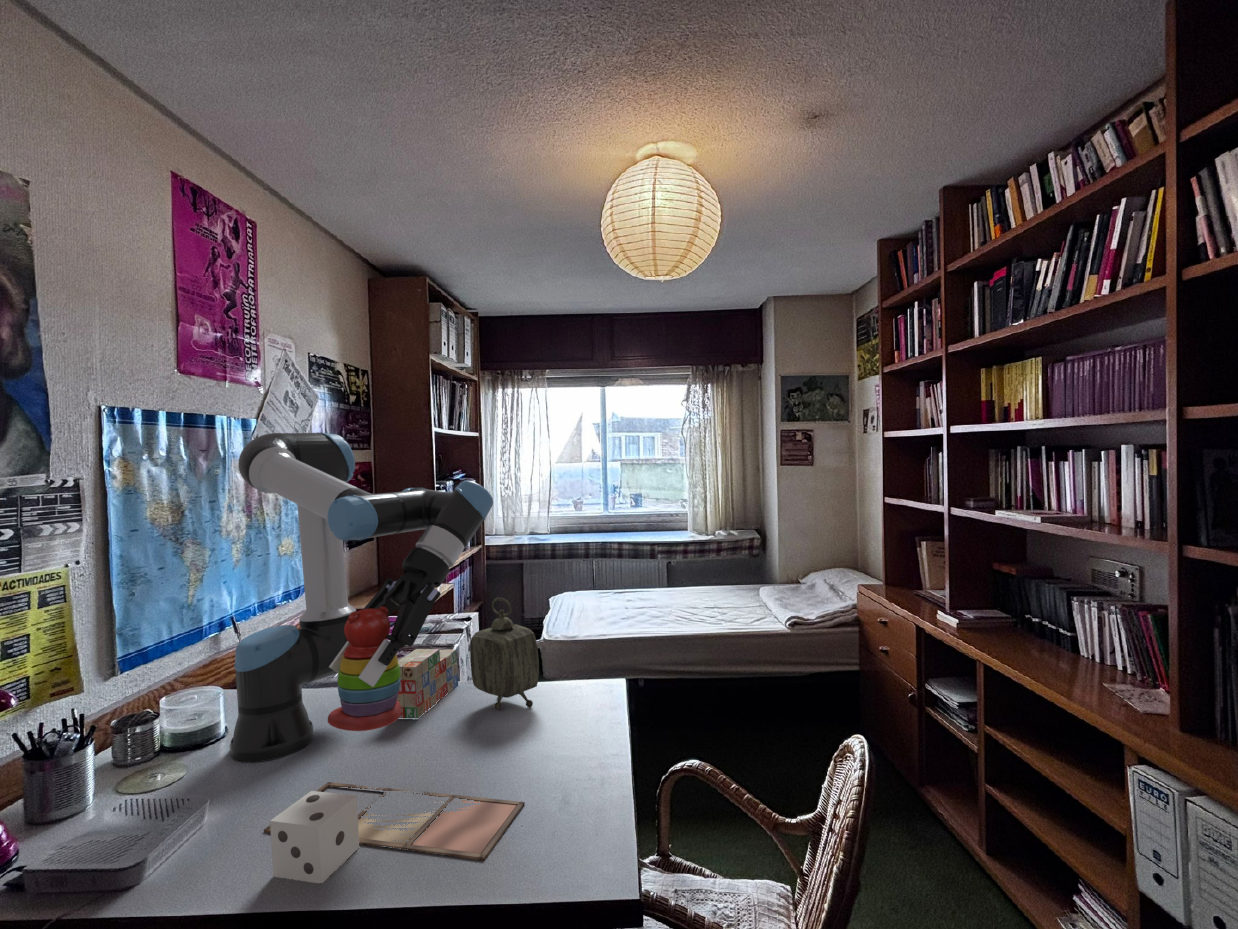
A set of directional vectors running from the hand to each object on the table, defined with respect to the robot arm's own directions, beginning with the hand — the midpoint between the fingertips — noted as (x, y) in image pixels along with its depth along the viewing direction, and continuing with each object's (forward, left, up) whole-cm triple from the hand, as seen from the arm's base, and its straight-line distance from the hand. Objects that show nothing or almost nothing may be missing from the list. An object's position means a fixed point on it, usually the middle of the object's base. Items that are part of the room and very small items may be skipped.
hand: (350, 676), depth 99 cm
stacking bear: (+1, +3, -8) cm, 9 cm away
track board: (+4, +4, -24) cm, 25 cm away
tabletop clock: (+2, +49, -24) cm, 55 cm away
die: (-1, -8, -24) cm, 26 cm away
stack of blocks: (-18, +49, -24) cm, 58 cm away
